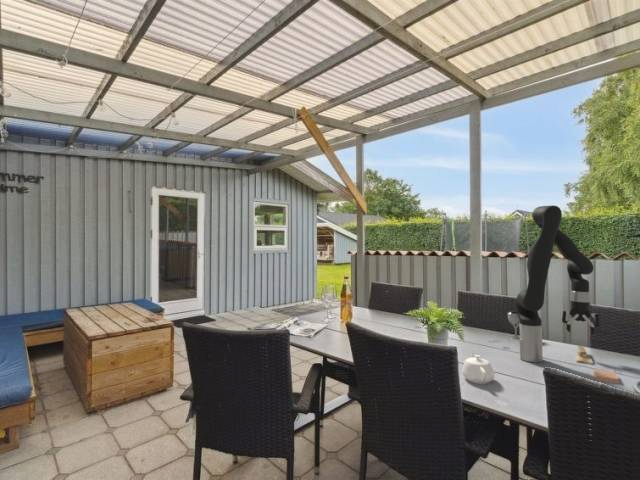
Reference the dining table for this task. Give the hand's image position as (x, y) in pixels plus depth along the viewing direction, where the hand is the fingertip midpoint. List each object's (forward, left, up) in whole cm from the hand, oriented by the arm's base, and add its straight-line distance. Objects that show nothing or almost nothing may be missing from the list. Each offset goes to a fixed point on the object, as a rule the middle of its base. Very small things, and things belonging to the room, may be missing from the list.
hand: (580, 333), depth 164 cm
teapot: (-39, -52, -12) cm, 66 cm away
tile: (+6, -27, -11) cm, 29 cm away
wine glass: (-28, +23, -12) cm, 38 cm away
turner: (+1, -2, -12) cm, 12 cm away
